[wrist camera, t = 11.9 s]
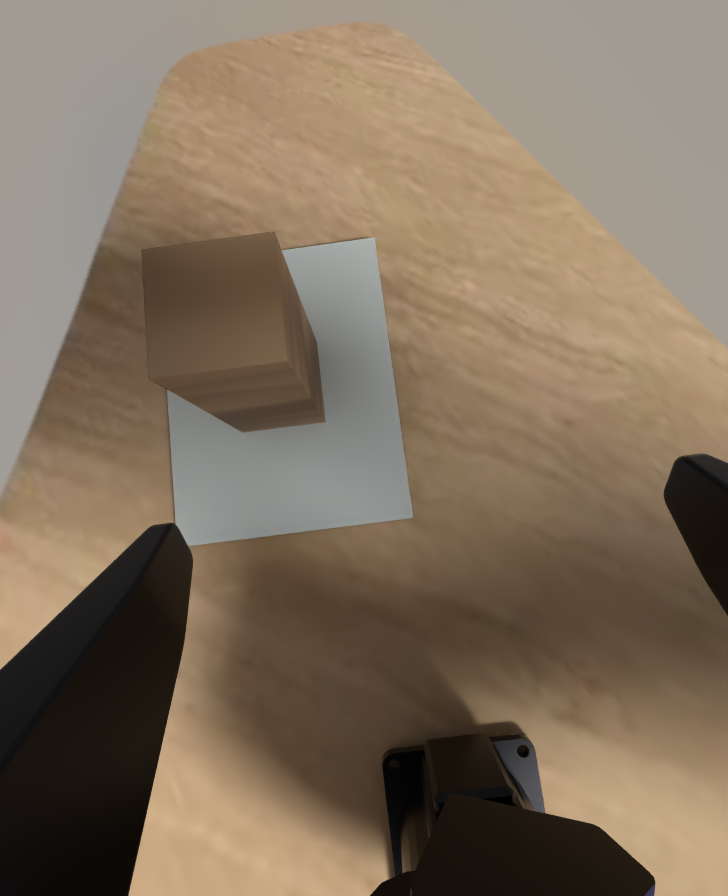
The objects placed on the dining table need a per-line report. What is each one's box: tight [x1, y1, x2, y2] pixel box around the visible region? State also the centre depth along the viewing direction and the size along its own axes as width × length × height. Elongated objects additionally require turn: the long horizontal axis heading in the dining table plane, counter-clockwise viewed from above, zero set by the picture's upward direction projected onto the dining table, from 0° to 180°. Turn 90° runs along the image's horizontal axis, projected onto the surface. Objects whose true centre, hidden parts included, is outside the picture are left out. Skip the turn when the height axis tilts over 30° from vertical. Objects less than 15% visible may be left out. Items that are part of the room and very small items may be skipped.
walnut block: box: [142, 232, 326, 433], centre depth 18 cm, size 4×4×9 cm
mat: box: [167, 237, 413, 546], centre depth 23 cm, size 14×11×1 cm
